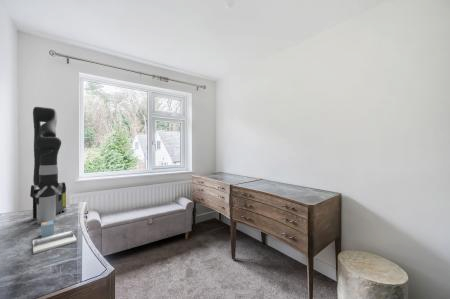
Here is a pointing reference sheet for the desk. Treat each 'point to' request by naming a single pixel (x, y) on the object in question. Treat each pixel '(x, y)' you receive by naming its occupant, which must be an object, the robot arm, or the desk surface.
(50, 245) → the rail plate
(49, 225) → the block
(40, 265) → the desk surface
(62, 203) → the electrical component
